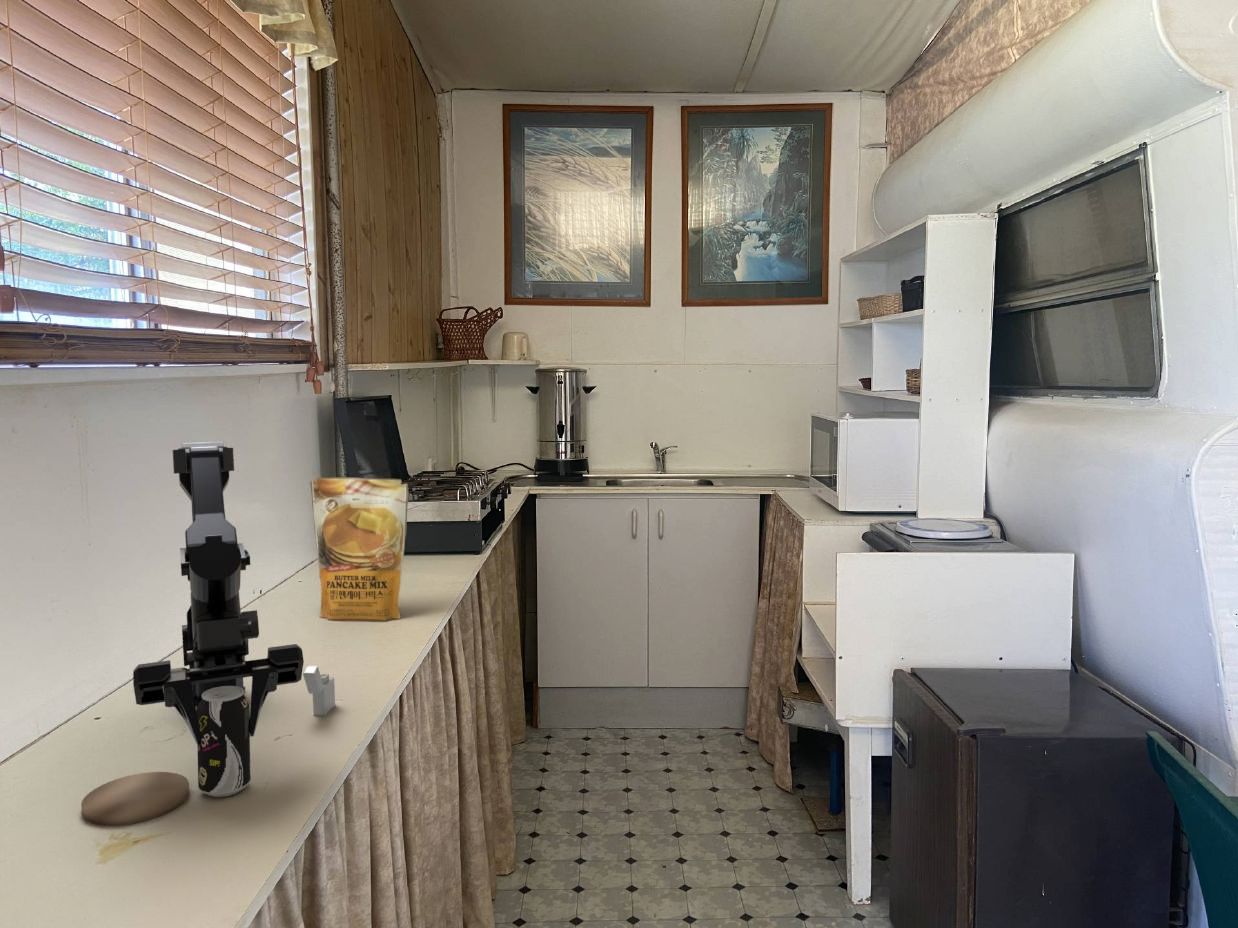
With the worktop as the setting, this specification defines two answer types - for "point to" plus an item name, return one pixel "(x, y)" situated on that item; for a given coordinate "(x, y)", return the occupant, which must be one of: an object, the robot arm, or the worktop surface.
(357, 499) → the pancake mix bag
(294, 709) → the worktop surface
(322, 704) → the lighter
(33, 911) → the worktop surface
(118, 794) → the bronze round coaster
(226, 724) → the beverage can
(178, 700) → the robot arm
